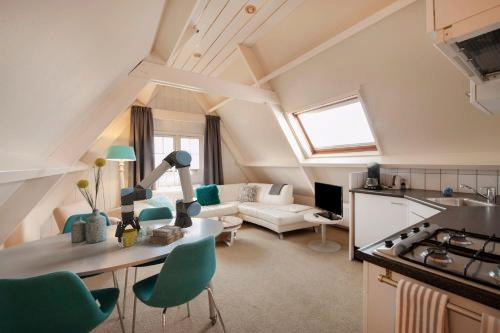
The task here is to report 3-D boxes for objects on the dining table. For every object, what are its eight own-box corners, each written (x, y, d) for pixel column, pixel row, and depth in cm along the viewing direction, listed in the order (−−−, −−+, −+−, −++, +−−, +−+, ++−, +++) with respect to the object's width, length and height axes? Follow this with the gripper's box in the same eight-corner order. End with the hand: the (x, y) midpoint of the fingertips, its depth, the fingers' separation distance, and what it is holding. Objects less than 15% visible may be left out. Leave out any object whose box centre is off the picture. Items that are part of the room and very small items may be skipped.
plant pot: (136, 246, 145) (136, 231, 145) (118, 249, 142) (118, 234, 141) (138, 241, 155) (137, 227, 155) (121, 243, 151) (120, 229, 151)
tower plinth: (166, 234, 168) (166, 224, 168) (183, 237, 162) (183, 226, 161) (149, 242, 153) (149, 230, 153) (167, 245, 147) (167, 233, 147)
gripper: (138, 207, 160) (139, 237, 160) (107, 214, 139) (108, 249, 139) (145, 207, 157) (146, 238, 157) (115, 215, 136) (116, 251, 136)
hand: (128, 243), depth 148 cm, fingers closed on plant pot, 10 cm apart
